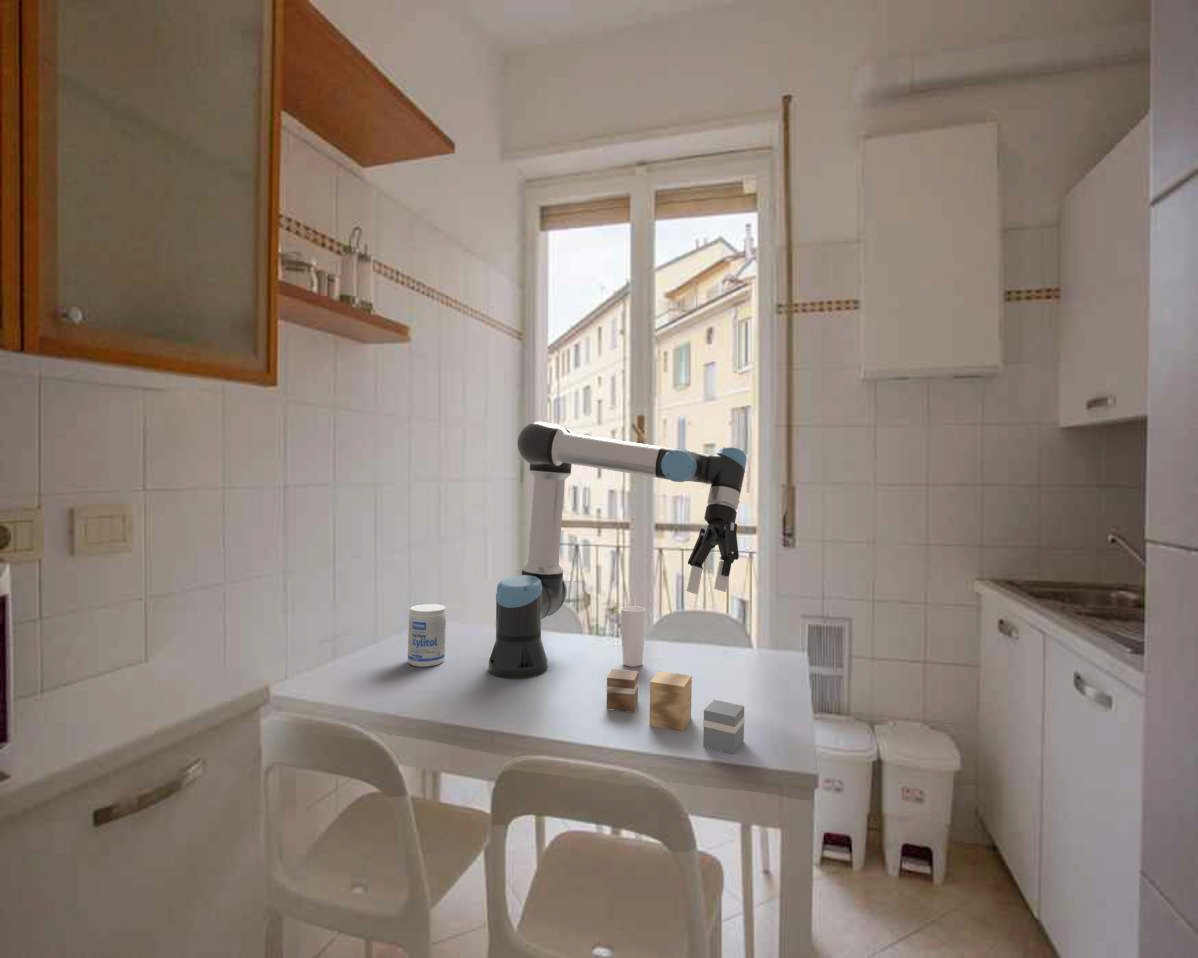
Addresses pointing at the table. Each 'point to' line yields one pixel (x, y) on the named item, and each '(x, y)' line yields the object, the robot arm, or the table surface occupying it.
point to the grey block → (723, 726)
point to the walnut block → (622, 690)
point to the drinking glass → (633, 634)
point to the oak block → (670, 700)
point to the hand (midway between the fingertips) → (705, 591)
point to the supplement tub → (426, 635)
